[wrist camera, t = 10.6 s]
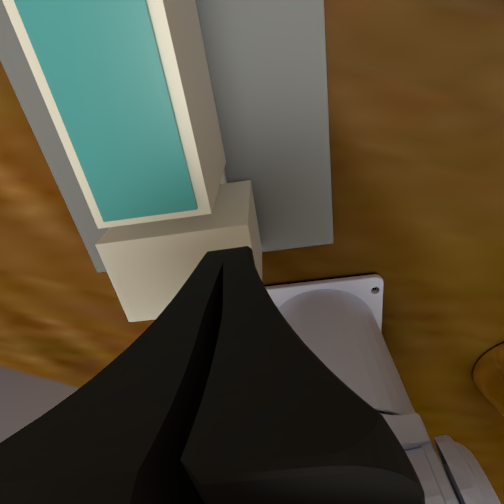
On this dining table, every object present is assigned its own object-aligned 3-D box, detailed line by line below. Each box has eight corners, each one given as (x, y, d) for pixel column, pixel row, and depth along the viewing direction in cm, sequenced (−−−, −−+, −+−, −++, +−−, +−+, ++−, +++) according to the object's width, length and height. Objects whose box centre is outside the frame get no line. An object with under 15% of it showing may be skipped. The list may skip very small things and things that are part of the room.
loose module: (226, 162, 17) (210, 216, 11) (146, 173, 17) (95, 231, 12) (191, -18, 13) (146, -61, 8) (92, 1, 14) (-15, -27, 8)
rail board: (330, 234, 20) (357, 306, 15) (103, 263, 22) (50, 339, 16) (308, -248, 11) (356, -531, 6) (-78, -150, 13) (-343, -302, 7)
